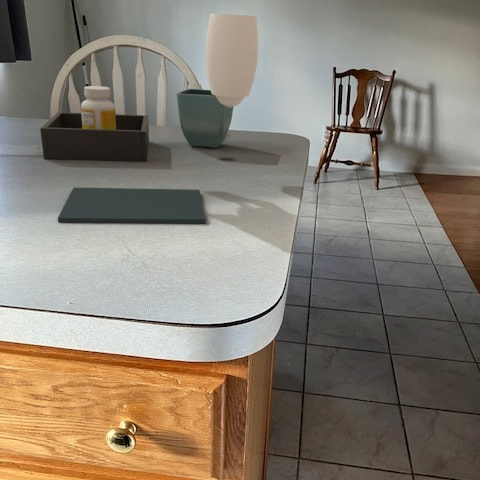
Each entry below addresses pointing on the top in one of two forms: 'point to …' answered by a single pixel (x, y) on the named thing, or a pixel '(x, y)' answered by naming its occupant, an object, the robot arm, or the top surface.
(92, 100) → the supplement bottle
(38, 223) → the top surface
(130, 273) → the top surface
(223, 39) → the beige tapered shape
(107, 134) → the black box
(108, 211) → the mat
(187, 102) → the flower pot
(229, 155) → the top surface
